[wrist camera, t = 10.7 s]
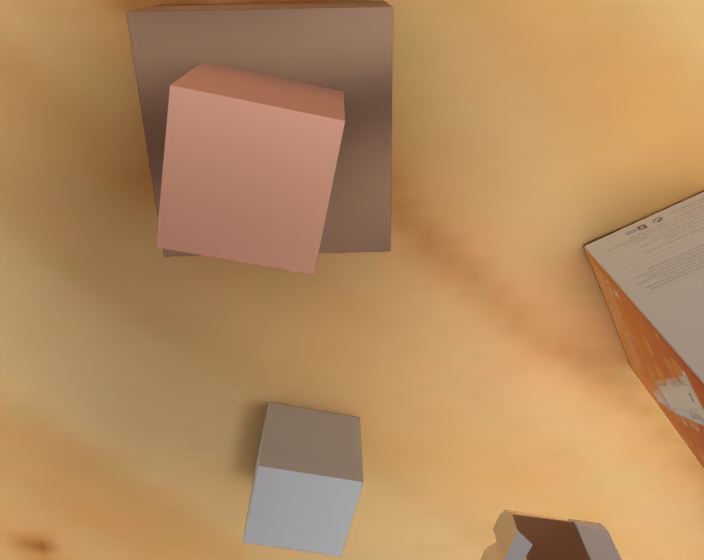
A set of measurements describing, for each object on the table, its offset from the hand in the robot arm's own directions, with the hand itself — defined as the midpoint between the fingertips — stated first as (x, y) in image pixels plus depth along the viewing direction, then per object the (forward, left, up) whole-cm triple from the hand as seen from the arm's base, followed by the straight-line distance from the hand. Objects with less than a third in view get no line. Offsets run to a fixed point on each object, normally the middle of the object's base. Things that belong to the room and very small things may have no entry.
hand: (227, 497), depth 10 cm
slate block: (-17, -3, -21) cm, 27 cm away
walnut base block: (+1, +1, -22) cm, 22 cm away
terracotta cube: (+1, +1, -17) cm, 17 cm away
